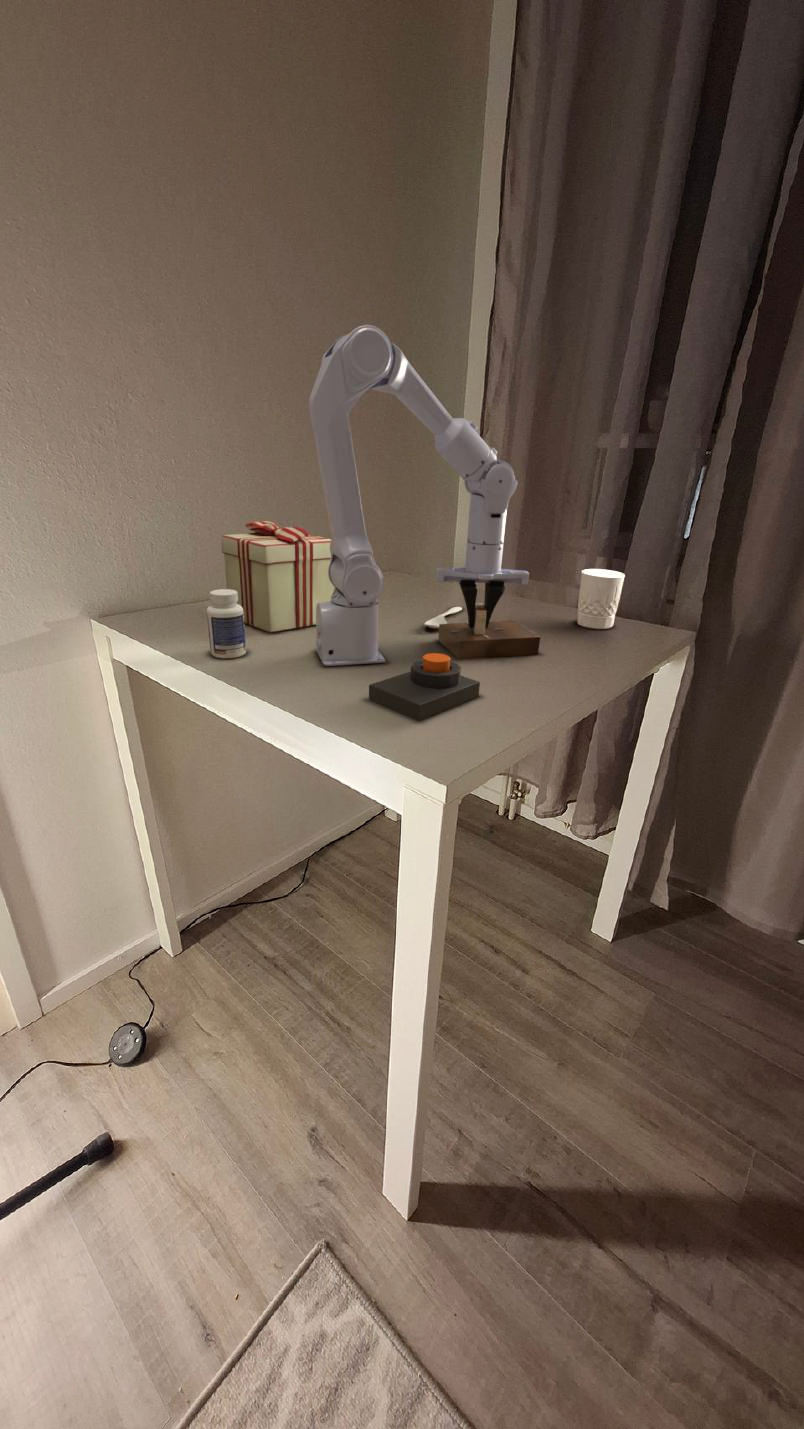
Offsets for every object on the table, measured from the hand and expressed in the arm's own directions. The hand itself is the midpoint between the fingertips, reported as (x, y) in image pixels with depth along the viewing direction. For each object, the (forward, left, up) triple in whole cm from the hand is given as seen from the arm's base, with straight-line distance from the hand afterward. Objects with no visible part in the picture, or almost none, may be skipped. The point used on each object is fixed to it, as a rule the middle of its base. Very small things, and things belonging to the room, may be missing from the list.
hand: (477, 626), depth 102 cm
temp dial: (0, 0, -1) cm, 1 cm away
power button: (-14, -19, 0) cm, 23 cm away
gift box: (-29, +24, -4) cm, 38 cm away
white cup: (+29, +10, -4) cm, 31 cm away
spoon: (+1, +18, -4) cm, 18 cm away
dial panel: (+2, 0, -4) cm, 4 cm away
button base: (-16, -20, -4) cm, 25 cm away
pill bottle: (-40, +4, -4) cm, 40 cm away
